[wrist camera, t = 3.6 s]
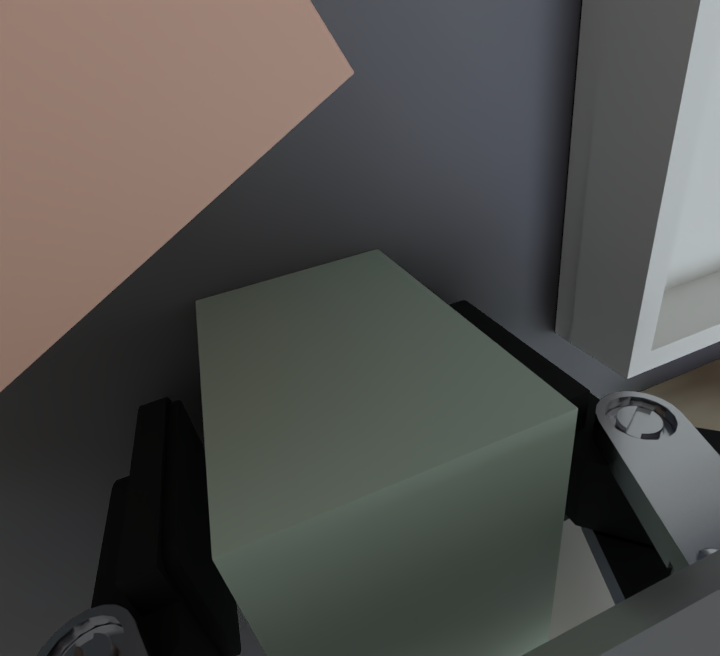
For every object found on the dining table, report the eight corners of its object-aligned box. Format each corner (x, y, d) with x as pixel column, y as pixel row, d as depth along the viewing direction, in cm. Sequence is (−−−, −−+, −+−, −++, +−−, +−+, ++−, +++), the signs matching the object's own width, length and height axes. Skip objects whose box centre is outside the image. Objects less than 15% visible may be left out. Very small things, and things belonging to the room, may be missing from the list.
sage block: (404, 441, 13) (545, 660, 8) (271, 493, 12) (334, 776, 7) (377, 248, 10) (577, 408, 5) (195, 299, 9) (212, 558, 4)
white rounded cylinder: (571, 532, 19) (746, 728, 13) (455, 589, 18) (591, 833, 12) (585, 438, 16) (818, 636, 10) (448, 497, 15) (622, 762, 9)
